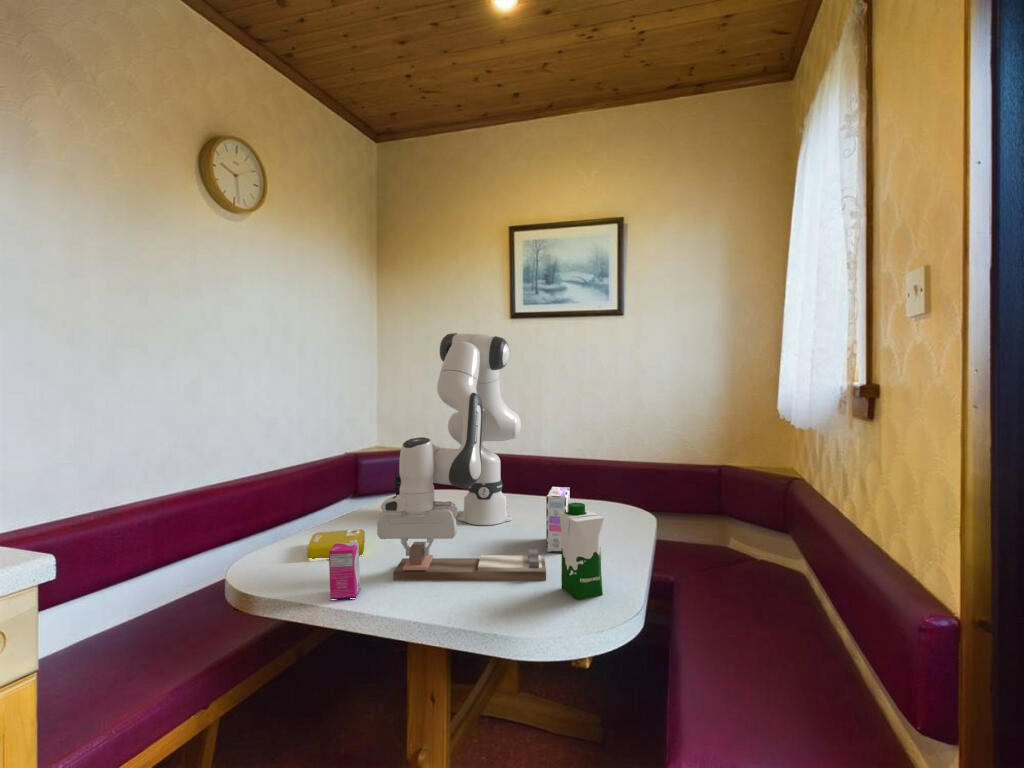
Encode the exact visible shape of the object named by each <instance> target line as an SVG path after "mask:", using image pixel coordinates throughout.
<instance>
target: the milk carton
mask: <svg viewBox="0 0 1024 768" xmlns="http://www.w3.org/2000/svg"><path fill="white" fill-rule="evenodd" d="M559 515H560V524H561V580H560V581H561V590H563V591H564V592H565V593H567V594H568V595H569V596H571V597H572V598H573V599H575V600H576V601H579V600H583V599H588V598H593V597H598V596H603V577H602V530H603V525H604V520H605V519H604V517H603V516H601V515H599V514H597V513H595V512H592V511H591V510H587V509H586V504H585V503H582V502H570V503H569V504H568V512H564V513H559Z"/></svg>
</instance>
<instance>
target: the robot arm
mask: <svg viewBox="0 0 1024 768" xmlns="http://www.w3.org/2000/svg"><path fill="white" fill-rule="evenodd" d="M439 357H440V360H441V361H442V365H441V369H440V371H439V372H440V373H439V376H438V380H437V385H436V392H437V395H438V397H439V398H440V400H441V401H442V402H443V403H444V404H445V405H447V406H448V407H450V408H452V409H453V410H455V411H456V412H453V414H451V415H450V417H449V419H448V423H447V429H448V430H447V431H448V433H449V435H450V436H451V438H452V439H453V440H455V441H456V442H457V443H458V444H460V446H459V448H445V447H441V446H438V445H435V444H434V443H433V442H432V440H431V439H430V438H427V437H422V436H421V437H413V438H409V439H407V440H406V441H404V442H403V443H402V445H401V448H400V454H399V468H398V469H399V474H400V478H401V486H400V494H399V495H396V494H395V495H393V496H391V497H388V498H386V499H385V500H384V501H382V503H381V505H380V508H381V513H380V514H379V515H378V519H377V525H376V526H377V528H376V535H377V536H378V538H379V539H380V540H381V539H382V540H383V539H385V540H386V539H389V540H390V539H391V540H392V539H395V540H398V539H399V540H400V543H401V545H402V546H403V548H404V550H405V556H406V557H409V549H410V547H411V546H410V545H409V543H408V541H409V540H410V539H411V540H413V539H414V540H415V539H417V540H418V539H419V540H422V539H423V540H425V539H426V543H428V544H427V546H426V547H424V548H423V556H429V555H430V554H431V553H430V548H431V547H432V544H433V542H434V540H435V539H436V540H437V539H439V540H441V539H443V540H444V539H445V540H446V539H447V540H448V539H453V538H455V537H456V535H457V533H458V531H457V530H458V528H457V519H456V518H457V516H458V506H457V505H456V504H455V503H454V502H452V501H437V500H436V501H435V486H434V484H439V485H446V486H447V485H449V486H453V487H457V488H461V489H467V491H468V492H467V494H465V496H464V497H463V513H462V514H461V515H459V517H458V521H460V522H464V523H467V524H470V525H475V526H492V525H499V524H502V523H505V522H509V521H510V522H511V521H512V520H513V517H512V515H511V514H510V513H509V511H508V510H507V509H508V506H507V496H506V495H505V494H504V493H503V492H502V490H503V481H502V478H501V473H502V472H501V459H500V457H499V455H498V454H496V453H495V452H493V451H491V450H489V449H487V448H485V446H484V445H483V442H484V443H485V442H506V441H510V440H515V439H517V438H518V436H519V435H520V433H521V430H522V420H521V418H520V416H519V415H518V413H516V412H515V411H514V410H512V409H511V408H509V406H508V405H507V404H506V403H505V401H504V400H503V399H504V398H502V394H501V381H500V377H501V376H500V375H501V374H500V370H503V368H504V367H506V365H507V363H508V360H509V358H510V348H509V344H508V342H507V340H506V339H505V338H503V337H501V336H497V335H495V336H492V335H489V334H482V333H481V334H480V333H457V332H454V333H453V332H452V333H447V334H446V335H445V336H444V337H442V339H441V341H440V344H439Z"/></svg>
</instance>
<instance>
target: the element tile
mask: <svg viewBox="0 0 1024 768" xmlns="http://www.w3.org/2000/svg"><path fill="white" fill-rule="evenodd" d="M365 539H366V537H365V530H363V529H361V528H360V529H349V530H346V529H345V530H334V531H321V532H320V531H319V532H315V533H313V534H312V535H311V538H310V540H309V542H308V544H307V549H306V550H307V559H308V558H312V559H315V558H329V551H330V549H331V548H332V547H333V545H334V544H335V543H352V542H359V556H360V555H362V554H363V552H364V551H365V545H364V543H365V541H366V540H365ZM365 544H366V543H365ZM364 553H365V552H364ZM363 555H364V554H363Z"/></svg>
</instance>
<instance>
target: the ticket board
mask: <svg viewBox="0 0 1024 768" xmlns="http://www.w3.org/2000/svg"><path fill="white" fill-rule="evenodd" d="M408 558H409V557H408ZM408 558H407V557H405V558H402V559H401V560H400V561H399V563H398V564H397V566H396V567H395V569H394V571H393V577H392V578H393V581H547V569H546V567H547V566H546V560H545V559H546V558H544V557H543V558H542V556H541V554H539V549H538V548H528V555H527V554H526V555H523V554H522V555H521V554H520V555H515V554H513V555H511V554H510V555H509V554H508V555H506V554H503V555H502V554H501V555H500V554H495V555H493V554H492V555H490V554H488V555H485V554H484V555H483V554H481V555H480V557H479V558H475V557H471V558H470V557H469V558H467V557H466V558H463V557H462V558H461V557H460V558H459V557H457V558H455V557H452V558H451V557H450V558H448V557H447V558H444V557H443V558H438V557H436V558H434V557H433V559H432V561H431V563H430V565H429V567H428V569H427V570H403V566H404V565H405V563H406V561H407V560H408Z"/></svg>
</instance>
